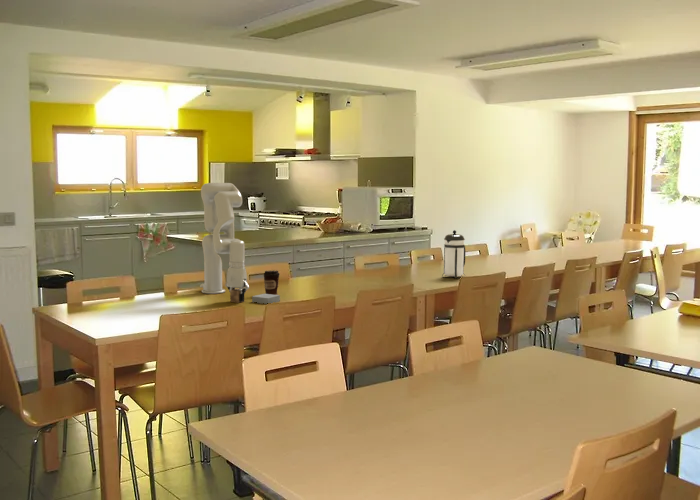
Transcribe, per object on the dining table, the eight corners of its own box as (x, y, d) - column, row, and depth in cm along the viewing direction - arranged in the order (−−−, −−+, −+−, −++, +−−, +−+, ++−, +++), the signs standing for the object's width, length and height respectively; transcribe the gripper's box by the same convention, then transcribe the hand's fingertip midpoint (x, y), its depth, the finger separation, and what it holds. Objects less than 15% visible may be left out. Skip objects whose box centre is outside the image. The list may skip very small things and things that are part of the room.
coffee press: (468, 279, 448) (469, 231, 444) (443, 278, 448) (444, 231, 445) (464, 275, 465) (465, 229, 462) (440, 275, 465) (441, 228, 462)
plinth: (252, 302, 363) (252, 296, 362) (264, 299, 371) (264, 293, 371) (268, 304, 358) (268, 298, 357) (279, 301, 366) (279, 295, 366)
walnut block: (230, 301, 363) (230, 290, 362) (236, 300, 367) (236, 288, 366) (238, 302, 360) (238, 291, 360) (244, 301, 365) (244, 289, 364)
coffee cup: (276, 296, 380) (276, 272, 378) (261, 295, 381) (261, 271, 380) (281, 293, 388) (281, 270, 387) (266, 293, 390) (266, 269, 388)
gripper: (219, 264, 363) (219, 299, 365) (245, 267, 354) (245, 303, 356) (228, 262, 369) (229, 297, 371) (255, 265, 360) (255, 301, 363)
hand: (237, 300), depth 364 cm, fingers closed on walnut block, 5 cm apart
